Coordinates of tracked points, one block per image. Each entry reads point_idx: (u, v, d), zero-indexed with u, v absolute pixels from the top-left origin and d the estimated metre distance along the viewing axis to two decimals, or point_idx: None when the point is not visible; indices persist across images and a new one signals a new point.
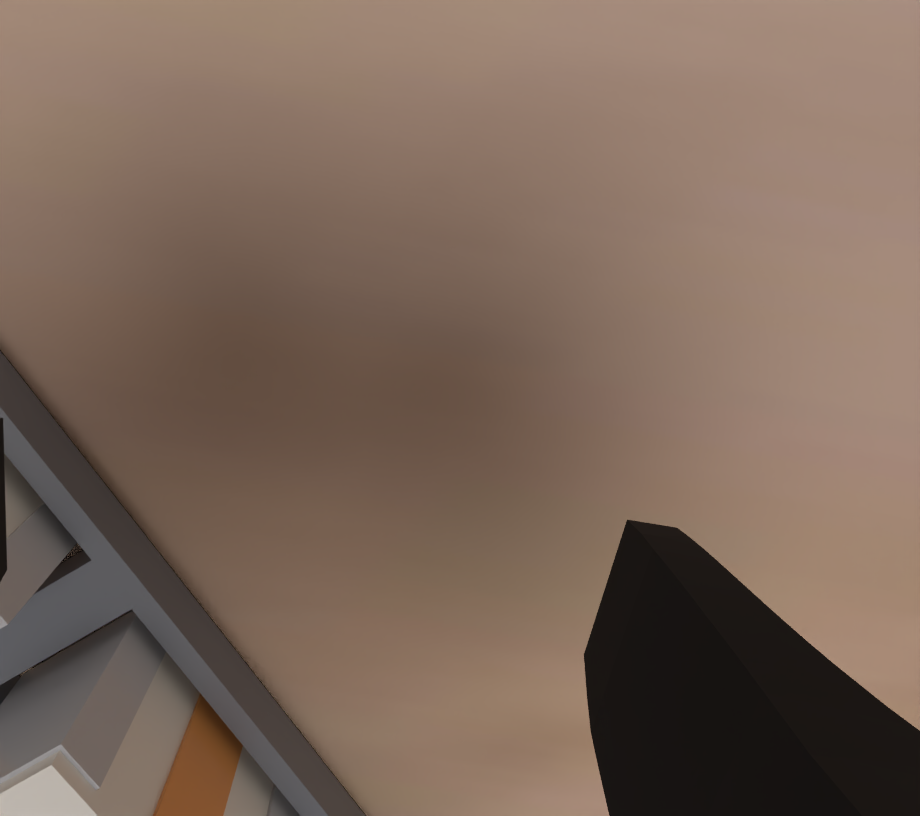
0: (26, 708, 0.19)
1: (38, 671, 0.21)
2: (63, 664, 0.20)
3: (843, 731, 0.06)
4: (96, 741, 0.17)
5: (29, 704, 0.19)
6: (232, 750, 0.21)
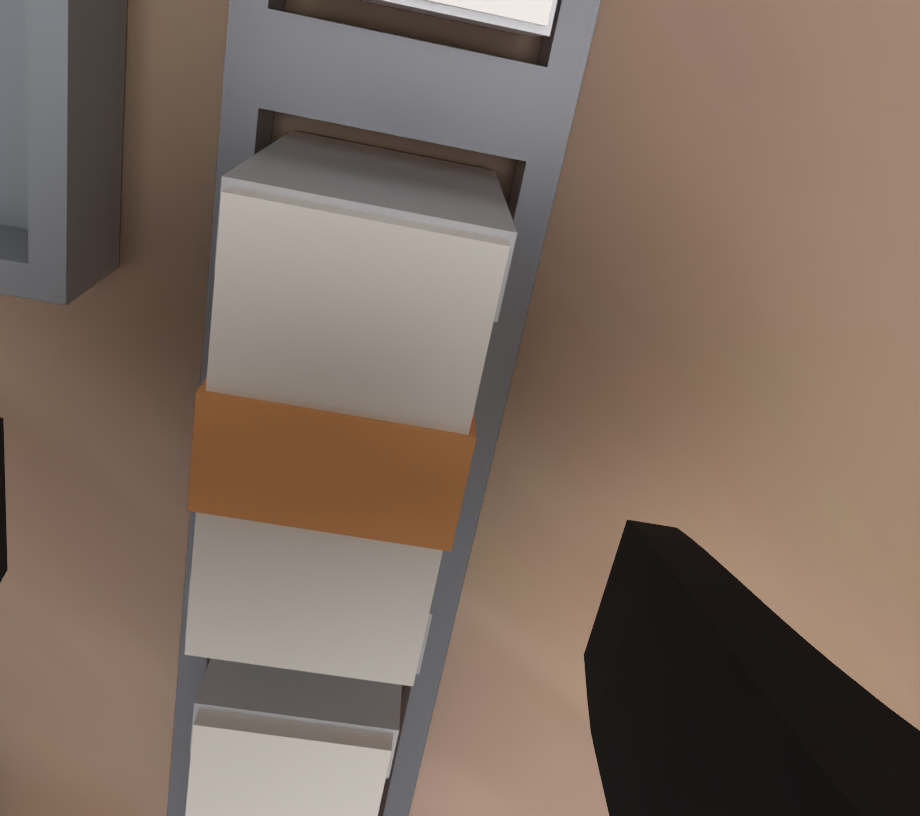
0: (357, 165, 0.13)
1: (328, 141, 0.15)
2: (384, 156, 0.14)
3: (843, 731, 0.06)
4: None
5: (357, 163, 0.13)
6: None
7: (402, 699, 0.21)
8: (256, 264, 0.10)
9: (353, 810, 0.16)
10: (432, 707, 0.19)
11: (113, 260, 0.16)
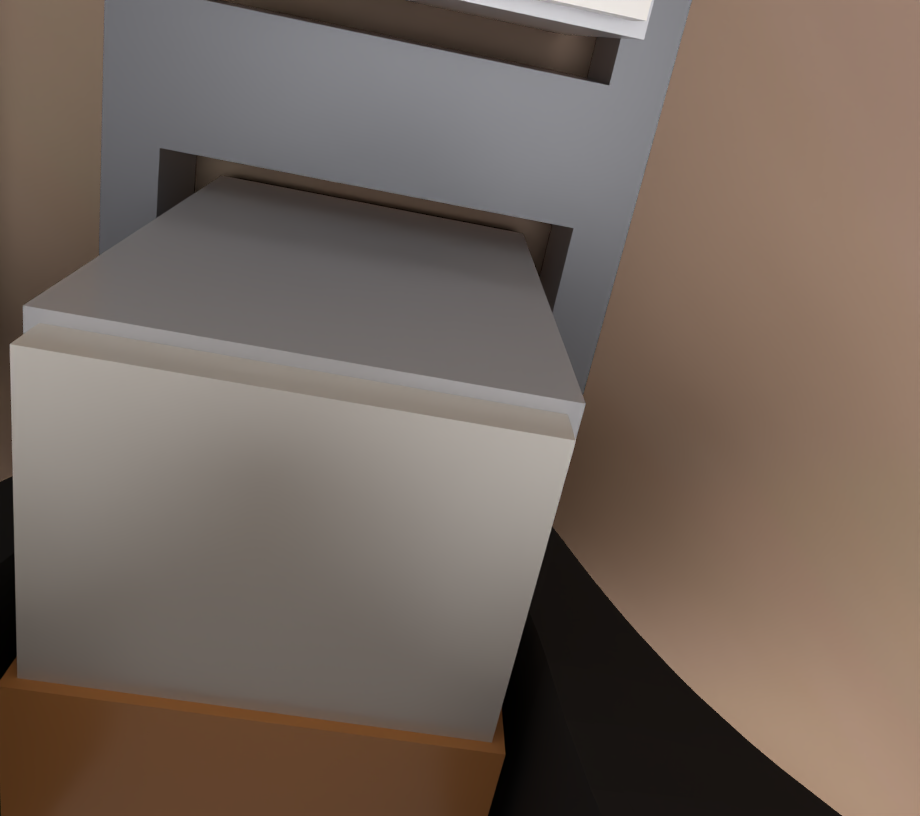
0: (308, 244, 0.08)
1: (274, 193, 0.10)
2: (357, 219, 0.09)
3: (616, 698, 0.06)
4: None
5: (309, 239, 0.08)
6: None
7: None
8: (89, 473, 0.05)
9: None
10: None
11: None
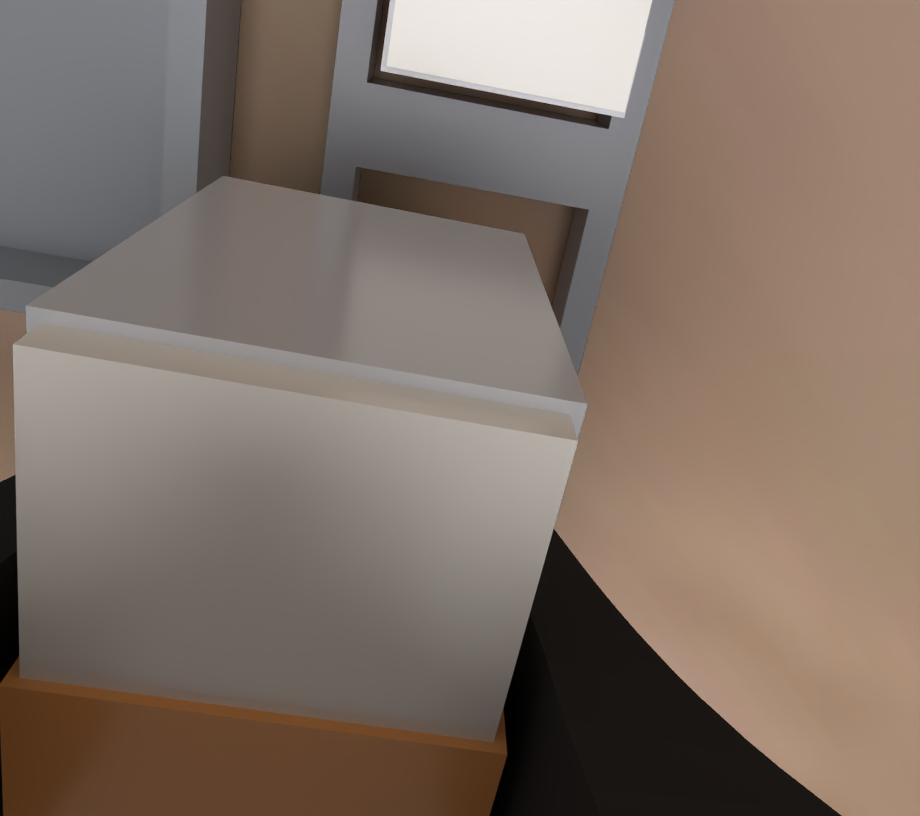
0: (310, 244, 0.08)
1: (276, 194, 0.10)
2: (358, 219, 0.09)
3: (615, 698, 0.06)
4: None
5: (311, 240, 0.08)
6: None
7: None
8: (91, 473, 0.05)
9: None
10: None
11: None
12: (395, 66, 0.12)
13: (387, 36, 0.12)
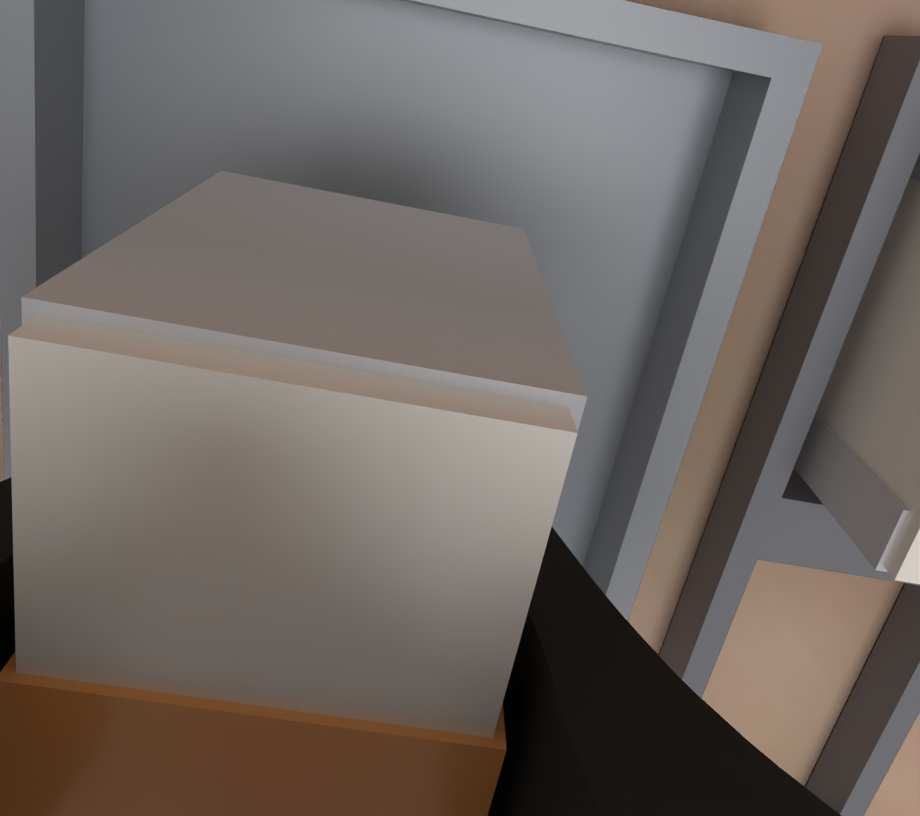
0: (308, 238, 0.08)
1: (274, 188, 0.10)
2: (357, 214, 0.09)
3: (615, 698, 0.06)
4: None
5: (308, 233, 0.08)
6: None
7: None
8: (87, 467, 0.05)
9: None
10: None
11: None
12: (903, 581, 0.14)
13: (888, 547, 0.14)
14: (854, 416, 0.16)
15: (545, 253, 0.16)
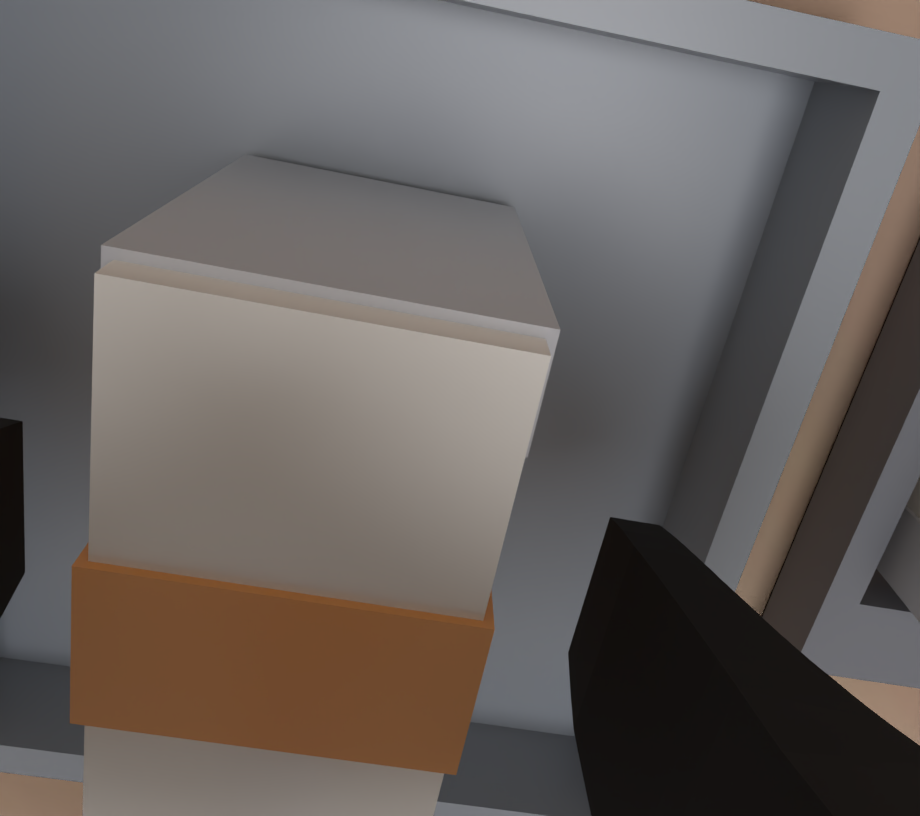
0: (326, 209, 0.09)
1: (293, 169, 0.11)
2: (367, 192, 0.11)
3: (815, 728, 0.06)
4: None
5: (326, 206, 0.09)
6: None
7: None
8: (155, 383, 0.07)
9: None
10: None
11: None
12: None
13: None
14: None
15: (571, 307, 0.13)
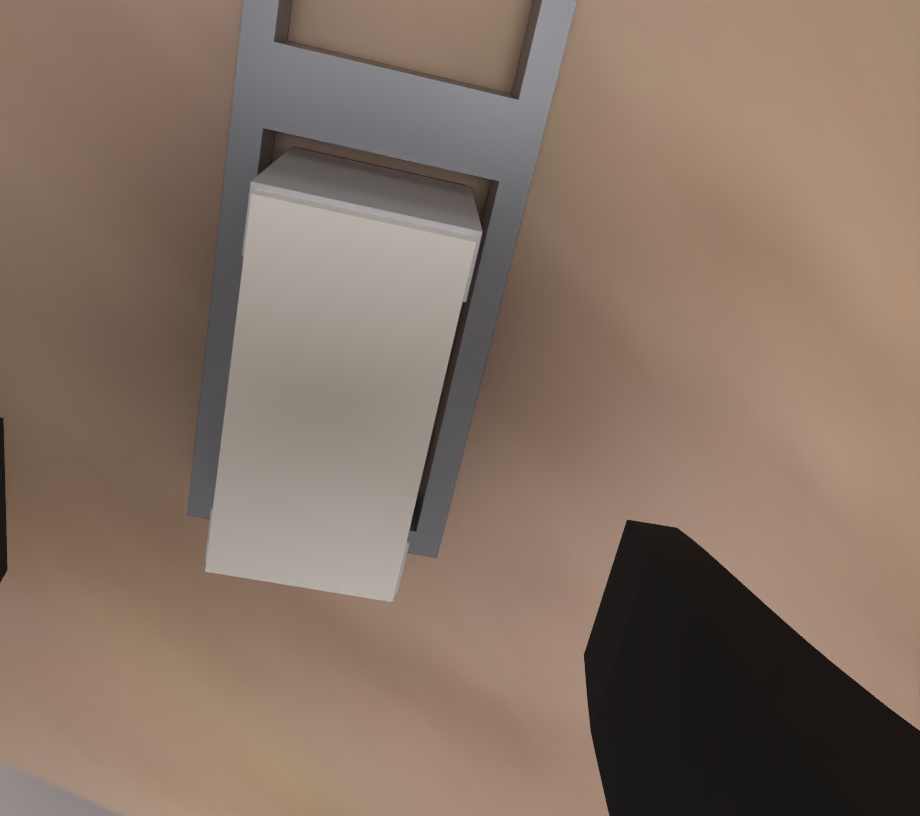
0: None
1: None
2: None
3: (842, 731, 0.06)
4: None
5: None
6: None
7: (457, 333, 0.19)
8: None
9: (426, 330, 0.14)
10: (497, 311, 0.17)
11: None
12: None
13: None
14: None
15: None
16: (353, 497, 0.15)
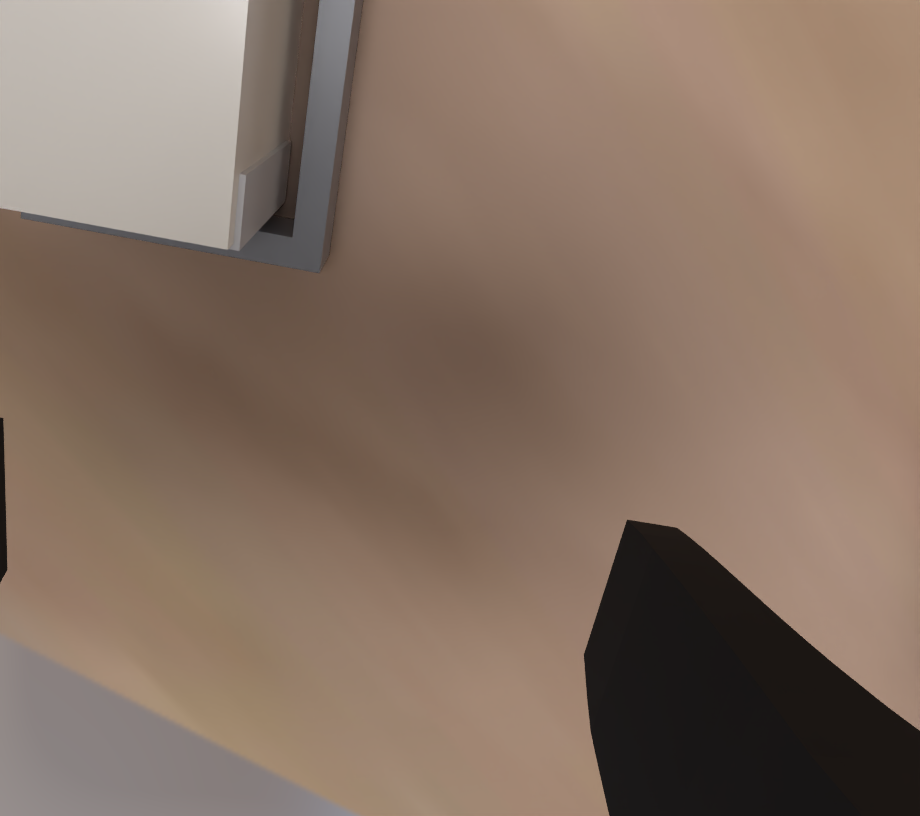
0: None
1: None
2: None
3: (843, 731, 0.06)
4: None
5: None
6: None
7: None
8: None
9: None
10: None
11: None
12: None
13: None
14: None
15: None
16: (162, 93, 0.12)
